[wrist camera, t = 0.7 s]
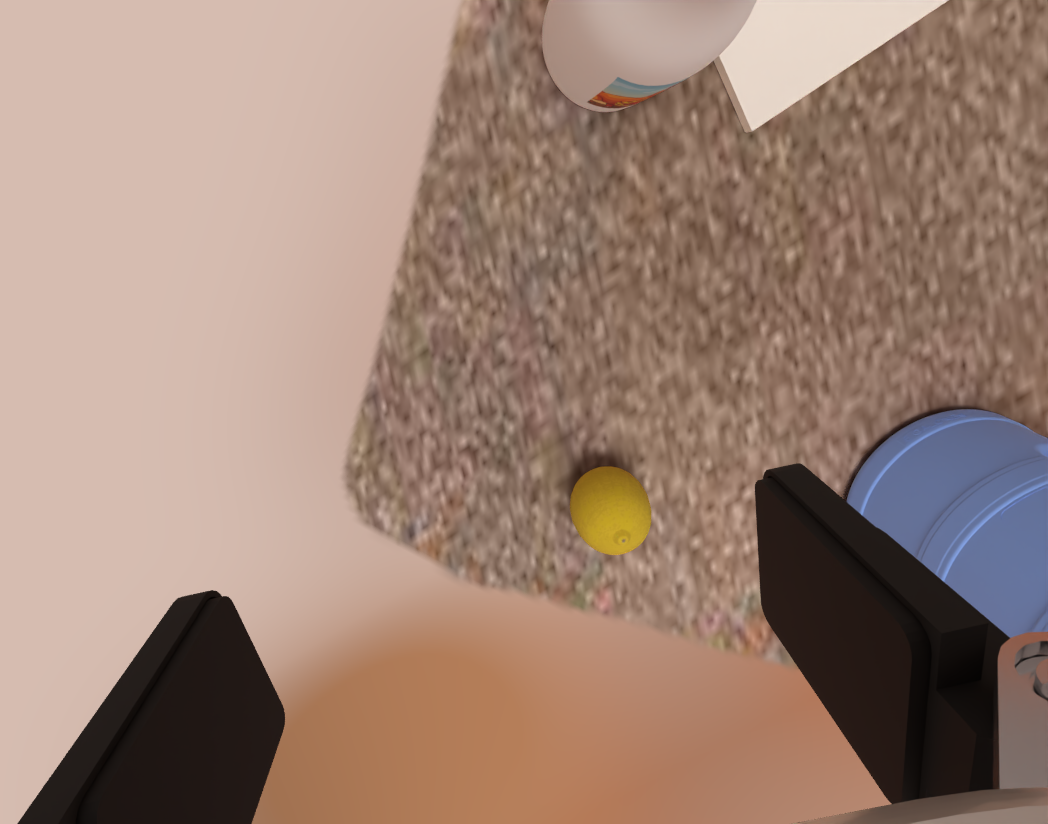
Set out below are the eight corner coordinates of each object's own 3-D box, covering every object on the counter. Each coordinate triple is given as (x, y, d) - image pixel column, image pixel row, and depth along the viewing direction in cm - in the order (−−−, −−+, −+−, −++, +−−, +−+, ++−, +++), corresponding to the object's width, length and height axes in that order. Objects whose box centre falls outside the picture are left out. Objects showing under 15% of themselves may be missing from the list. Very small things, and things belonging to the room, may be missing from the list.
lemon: (603, 524, 46) (628, 589, 39) (548, 490, 45) (563, 551, 38) (648, 472, 45) (683, 530, 38) (593, 435, 44) (617, 488, 36)
